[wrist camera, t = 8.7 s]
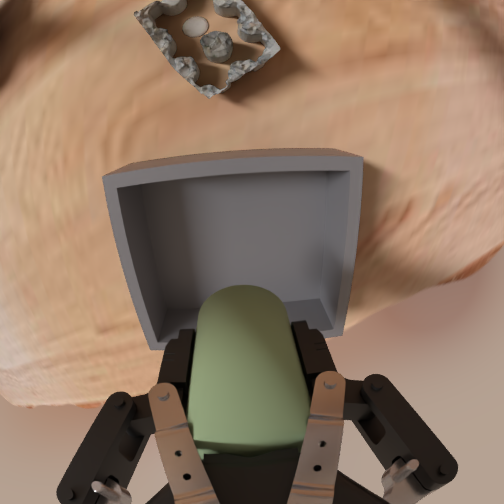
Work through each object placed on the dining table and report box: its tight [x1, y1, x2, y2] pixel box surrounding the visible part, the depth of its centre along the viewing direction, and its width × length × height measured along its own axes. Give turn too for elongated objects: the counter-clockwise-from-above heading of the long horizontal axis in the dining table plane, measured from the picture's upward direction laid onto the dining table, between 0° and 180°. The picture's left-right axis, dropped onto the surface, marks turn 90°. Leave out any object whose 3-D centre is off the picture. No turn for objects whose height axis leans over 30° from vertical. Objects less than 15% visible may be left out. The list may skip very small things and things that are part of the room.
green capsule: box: [186, 285, 311, 459], centre depth 11 cm, size 5×5×8 cm
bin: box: [102, 148, 363, 350], centre depth 23 cm, size 16×18×6 cm
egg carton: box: [134, 0, 280, 99], centre depth 16 cm, size 11×8×4 cm
